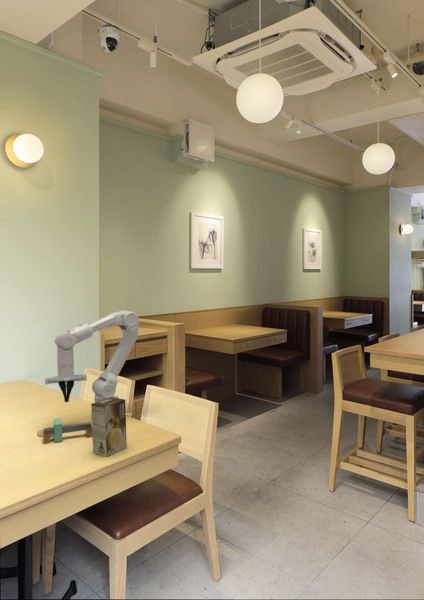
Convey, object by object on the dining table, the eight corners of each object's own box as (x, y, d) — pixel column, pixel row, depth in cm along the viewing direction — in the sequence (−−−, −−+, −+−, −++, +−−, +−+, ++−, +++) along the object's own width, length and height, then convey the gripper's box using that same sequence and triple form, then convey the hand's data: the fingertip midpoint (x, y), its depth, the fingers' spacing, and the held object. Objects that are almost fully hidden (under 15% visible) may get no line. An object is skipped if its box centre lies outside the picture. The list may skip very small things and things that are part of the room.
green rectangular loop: (61, 435, 152) (60, 418, 152) (62, 441, 147) (61, 423, 146) (53, 436, 151) (53, 419, 151) (54, 442, 146) (54, 424, 145)
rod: (91, 432, 155) (90, 420, 155) (92, 436, 151) (92, 424, 151) (43, 438, 149) (43, 426, 149) (43, 443, 145) (43, 431, 144)
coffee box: (113, 443, 144) (112, 396, 144) (127, 447, 141) (126, 399, 140) (92, 453, 137) (90, 403, 136) (106, 457, 133) (105, 406, 132)
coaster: (62, 426, 161) (62, 425, 161) (64, 434, 153) (64, 433, 153) (36, 430, 158) (36, 429, 158) (37, 438, 149) (37, 437, 149)
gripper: (44, 368, 153) (46, 406, 153) (87, 365, 158) (88, 401, 159) (44, 365, 159) (45, 401, 160) (85, 361, 165) (86, 397, 166)
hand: (66, 401), depth 160 cm, fingers closed
